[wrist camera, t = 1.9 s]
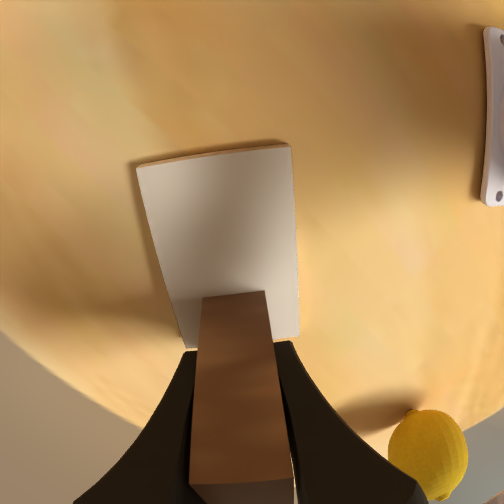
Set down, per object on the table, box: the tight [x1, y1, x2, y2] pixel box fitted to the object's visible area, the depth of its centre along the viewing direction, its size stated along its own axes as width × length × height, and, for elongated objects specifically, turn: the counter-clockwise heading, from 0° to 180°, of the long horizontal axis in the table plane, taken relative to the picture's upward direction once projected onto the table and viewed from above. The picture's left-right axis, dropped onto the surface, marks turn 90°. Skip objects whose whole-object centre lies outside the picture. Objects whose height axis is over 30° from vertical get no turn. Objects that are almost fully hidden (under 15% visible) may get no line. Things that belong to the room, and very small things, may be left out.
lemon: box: [388, 409, 468, 501], centre depth 16 cm, size 6×6×8 cm
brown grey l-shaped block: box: [136, 143, 300, 504], centre depth 9 cm, size 5×8×8 cm, turn 6°
